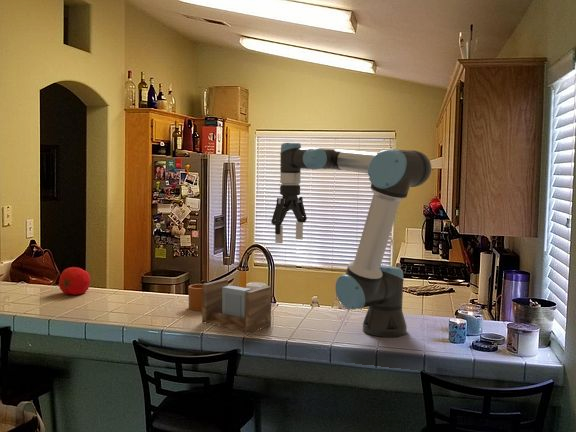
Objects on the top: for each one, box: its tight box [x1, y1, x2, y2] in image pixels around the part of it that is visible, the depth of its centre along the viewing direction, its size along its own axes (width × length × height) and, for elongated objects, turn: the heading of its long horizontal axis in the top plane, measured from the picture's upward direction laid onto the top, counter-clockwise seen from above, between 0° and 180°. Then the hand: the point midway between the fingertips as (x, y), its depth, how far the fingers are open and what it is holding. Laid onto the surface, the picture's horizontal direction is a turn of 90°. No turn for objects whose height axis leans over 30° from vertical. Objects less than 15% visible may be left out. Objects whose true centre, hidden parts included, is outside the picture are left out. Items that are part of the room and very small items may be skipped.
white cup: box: [245, 281, 267, 290], centre depth 232 cm, size 8×8×10 cm
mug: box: [187, 283, 203, 312], centre depth 232 cm, size 9×12×9 cm
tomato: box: [58, 266, 92, 296], centre depth 254 cm, size 13×13×13 cm
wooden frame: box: [201, 278, 272, 333], centre depth 211 cm, size 22×12×14 cm, turn 56°
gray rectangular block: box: [222, 284, 251, 319], centre depth 211 cm, size 10×4×12 cm, turn 57°
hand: (289, 241), depth 220 cm, fingers open, 13 cm apart
